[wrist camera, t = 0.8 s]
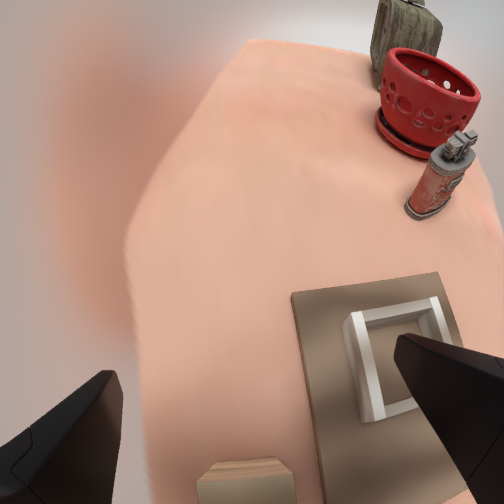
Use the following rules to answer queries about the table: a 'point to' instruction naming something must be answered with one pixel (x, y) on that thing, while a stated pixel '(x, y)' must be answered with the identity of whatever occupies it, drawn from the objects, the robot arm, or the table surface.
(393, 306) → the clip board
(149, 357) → the table surface
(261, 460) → the peg
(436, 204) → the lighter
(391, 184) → the table surface
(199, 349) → the table surface
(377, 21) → the tabletop clock
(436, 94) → the plant pot
